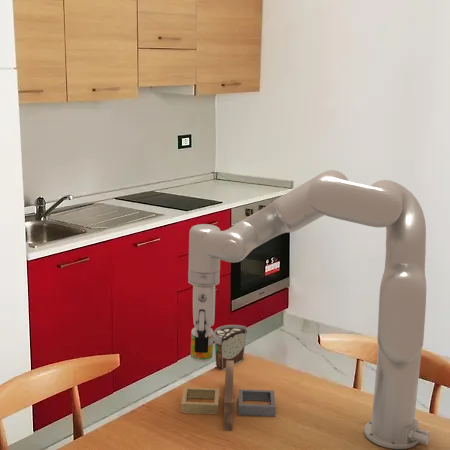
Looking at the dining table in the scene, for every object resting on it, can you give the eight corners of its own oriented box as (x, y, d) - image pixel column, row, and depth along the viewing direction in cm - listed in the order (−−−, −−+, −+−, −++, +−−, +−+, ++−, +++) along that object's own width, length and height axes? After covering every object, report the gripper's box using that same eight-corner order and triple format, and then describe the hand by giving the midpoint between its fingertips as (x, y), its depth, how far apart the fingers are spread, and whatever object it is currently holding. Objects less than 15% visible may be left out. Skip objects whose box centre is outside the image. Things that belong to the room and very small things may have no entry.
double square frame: (273, 399, 181) (274, 390, 180) (275, 416, 172) (275, 407, 172) (183, 396, 181) (183, 387, 181) (180, 412, 172) (181, 403, 172)
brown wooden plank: (232, 385, 188) (233, 360, 187) (231, 430, 165) (233, 402, 163) (225, 384, 188) (226, 360, 187) (223, 430, 165) (224, 402, 163)
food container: (229, 353, 210) (231, 321, 207) (246, 358, 206) (247, 326, 204) (202, 365, 200) (203, 332, 198) (219, 371, 196) (220, 337, 194)
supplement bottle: (185, 357, 174) (186, 320, 172) (201, 351, 178) (202, 315, 176) (201, 364, 170) (202, 326, 168) (216, 358, 174) (218, 320, 172)
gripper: (218, 287, 161) (216, 362, 165) (220, 266, 178) (218, 334, 182) (185, 286, 161) (184, 360, 165) (190, 265, 178) (189, 333, 182)
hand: (201, 346), depth 173 cm, fingers closed on supplement bottle, 5 cm apart
